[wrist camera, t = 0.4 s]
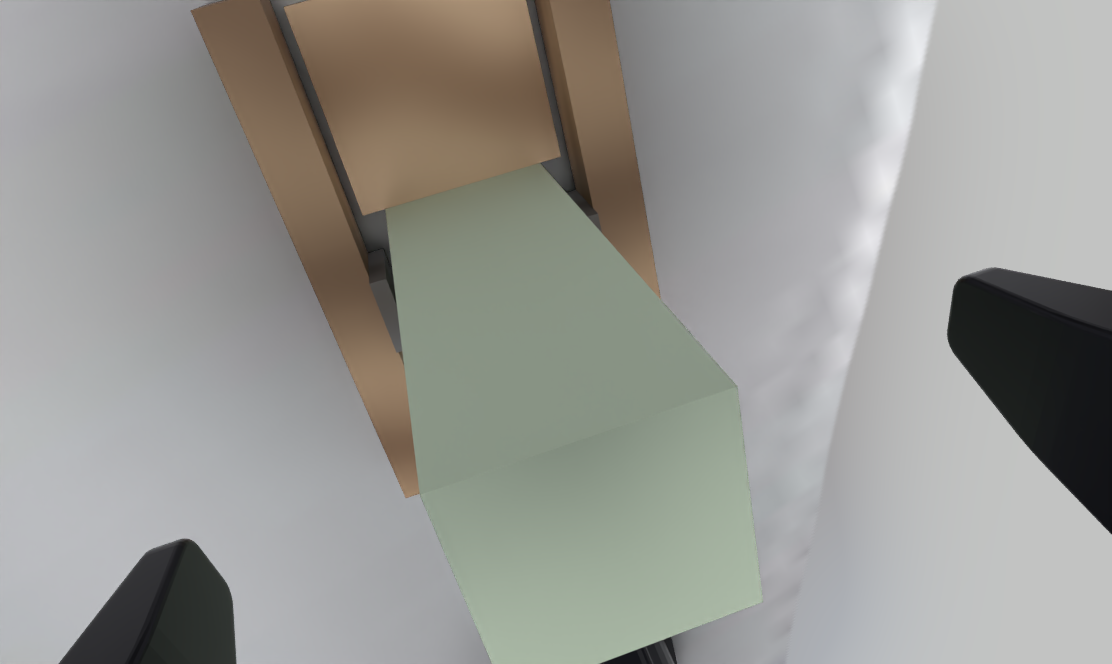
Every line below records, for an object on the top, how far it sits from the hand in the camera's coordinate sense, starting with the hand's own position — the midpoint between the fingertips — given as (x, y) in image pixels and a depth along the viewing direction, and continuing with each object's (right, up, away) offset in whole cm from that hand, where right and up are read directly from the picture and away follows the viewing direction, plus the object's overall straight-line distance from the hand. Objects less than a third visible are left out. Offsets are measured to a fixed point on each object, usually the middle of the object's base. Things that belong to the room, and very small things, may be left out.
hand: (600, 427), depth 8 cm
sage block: (-3, +4, +16) cm, 17 cm away
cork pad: (-4, +8, +13) cm, 16 cm away
